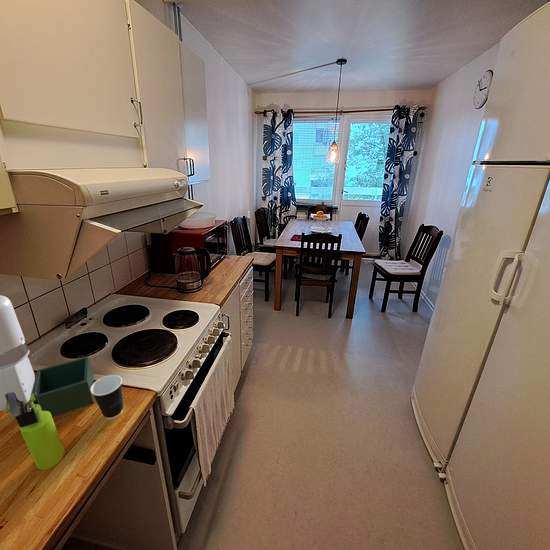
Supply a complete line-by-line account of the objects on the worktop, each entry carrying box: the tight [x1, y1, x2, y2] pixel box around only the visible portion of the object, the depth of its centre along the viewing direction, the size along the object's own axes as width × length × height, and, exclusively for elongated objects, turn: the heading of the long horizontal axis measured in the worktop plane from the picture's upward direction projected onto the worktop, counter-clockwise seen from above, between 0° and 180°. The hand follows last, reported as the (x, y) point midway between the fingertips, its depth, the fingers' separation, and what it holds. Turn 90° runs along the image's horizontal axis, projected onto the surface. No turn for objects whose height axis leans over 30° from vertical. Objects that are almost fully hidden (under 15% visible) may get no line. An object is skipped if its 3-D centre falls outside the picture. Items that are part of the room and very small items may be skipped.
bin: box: [33, 356, 95, 418], centre depth 89 cm, size 14×14×9 cm
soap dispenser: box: [3, 394, 66, 471], centre depth 68 cm, size 6×7×20 cm
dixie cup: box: [90, 374, 124, 421], centre depth 83 cm, size 8×8×11 cm
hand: (30, 416), depth 66 cm, fingers closed on soap dispenser, 3 cm apart
